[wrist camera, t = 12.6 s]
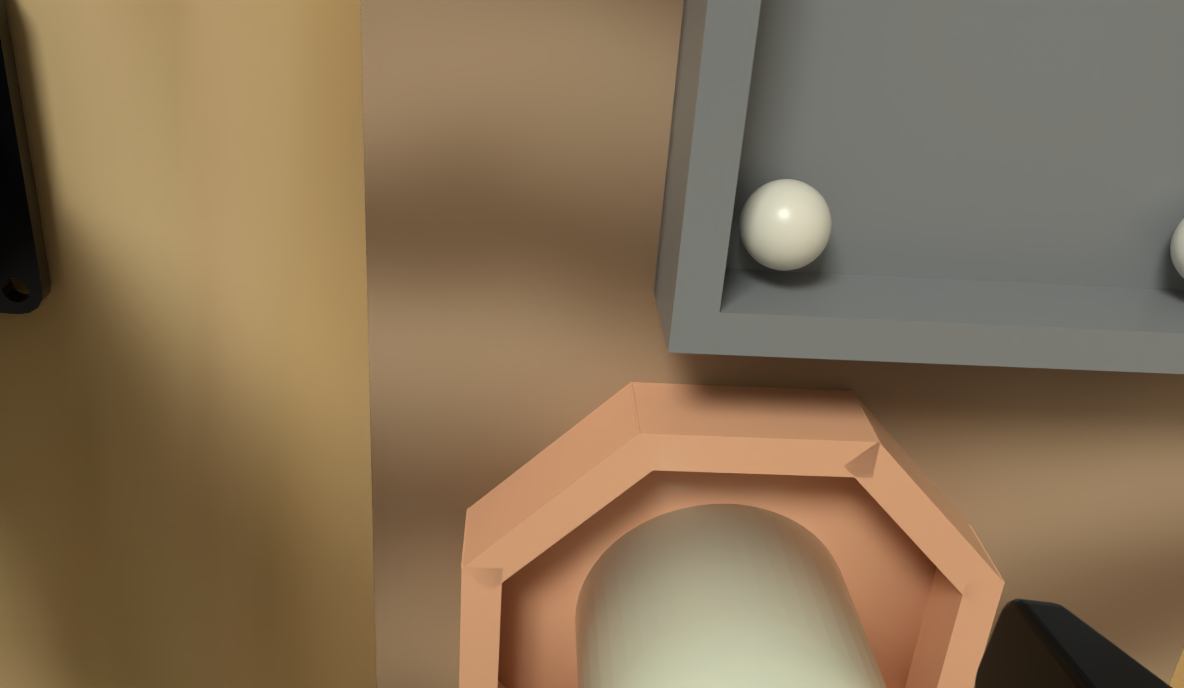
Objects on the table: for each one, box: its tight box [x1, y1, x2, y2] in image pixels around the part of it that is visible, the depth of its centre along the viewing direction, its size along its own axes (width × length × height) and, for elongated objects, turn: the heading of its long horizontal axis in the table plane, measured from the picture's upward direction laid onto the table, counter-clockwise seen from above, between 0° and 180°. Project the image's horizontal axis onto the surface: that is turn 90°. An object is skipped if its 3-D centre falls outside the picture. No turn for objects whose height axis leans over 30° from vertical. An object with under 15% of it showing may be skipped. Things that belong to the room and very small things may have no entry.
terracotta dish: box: [459, 381, 1005, 688], centre depth 24 cm, size 11×11×2 cm
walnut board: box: [360, 0, 1184, 688], centre depth 22 cm, size 29×19×1 cm, turn 176°
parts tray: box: [654, 0, 1184, 374], centre depth 18 cm, size 12×12×3 cm
